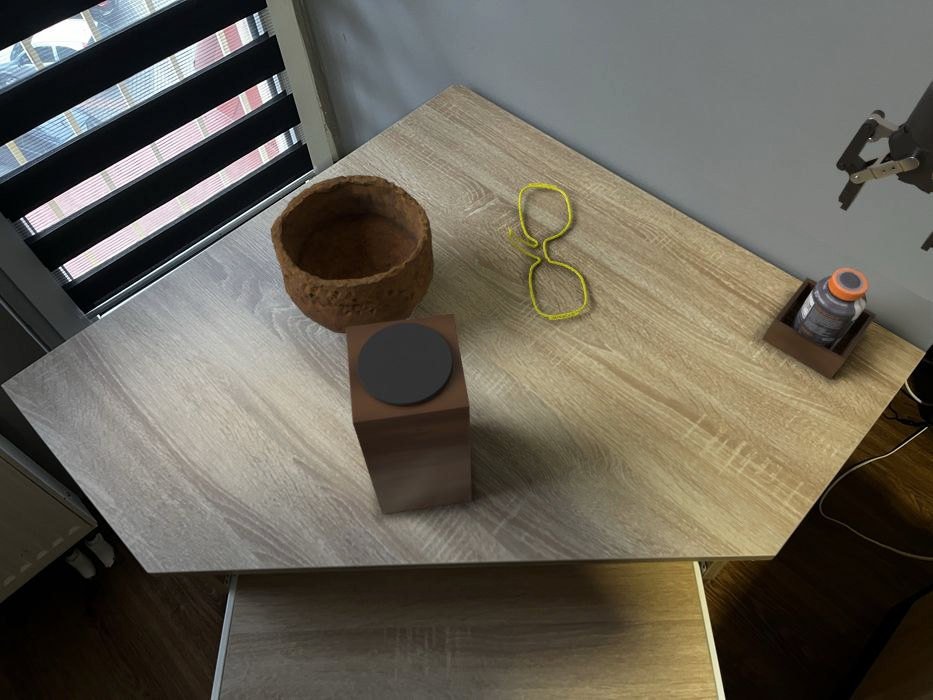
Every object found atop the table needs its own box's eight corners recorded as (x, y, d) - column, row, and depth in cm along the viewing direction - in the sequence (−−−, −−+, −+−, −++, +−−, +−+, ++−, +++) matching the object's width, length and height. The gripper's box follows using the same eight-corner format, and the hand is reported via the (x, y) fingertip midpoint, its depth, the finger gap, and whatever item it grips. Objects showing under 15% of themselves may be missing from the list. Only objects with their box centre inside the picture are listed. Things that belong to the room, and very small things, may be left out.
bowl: (318, 243, 99) (295, 162, 87) (448, 258, 97) (444, 177, 85) (278, 353, 89) (245, 279, 76) (422, 371, 87) (413, 299, 75)
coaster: (459, 399, 60) (458, 395, 59) (361, 413, 59) (360, 409, 59) (445, 320, 64) (445, 316, 64) (354, 332, 64) (353, 329, 63)
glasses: (591, 322, 91) (596, 300, 87) (515, 327, 91) (517, 304, 87) (565, 187, 105) (568, 162, 101) (499, 190, 104) (500, 166, 100)
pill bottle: (846, 347, 88) (890, 291, 79) (807, 361, 87) (847, 307, 78) (816, 311, 91) (855, 254, 82) (778, 325, 90) (813, 269, 81)
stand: (471, 501, 78) (469, 406, 59) (382, 514, 77) (352, 422, 59) (458, 422, 83) (453, 312, 65) (375, 434, 82) (345, 326, 64)
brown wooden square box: (861, 333, 89) (876, 314, 86) (829, 379, 86) (844, 362, 82) (795, 296, 93) (807, 277, 89) (761, 339, 89) (772, 321, 86)
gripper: (880, 78, 59) (804, 212, 73) (1057, 152, 54) (940, 282, 68) (914, 38, 62) (836, 174, 76) (1086, 104, 57) (968, 237, 71)
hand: (885, 225), depth 72 cm, fingers open, 8 cm apart
